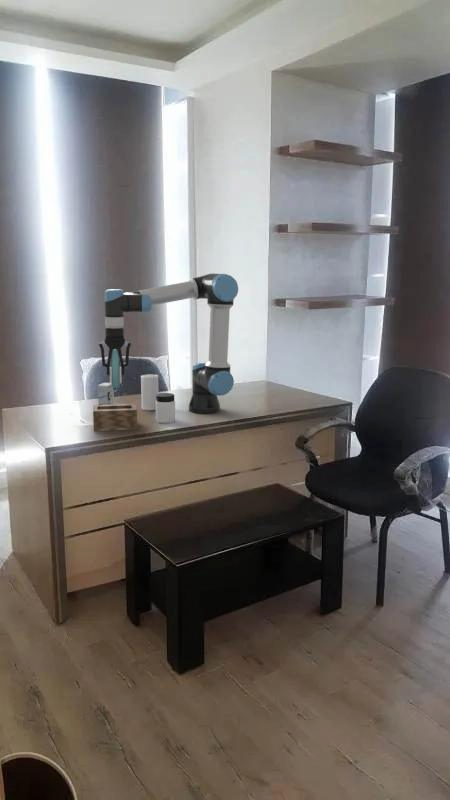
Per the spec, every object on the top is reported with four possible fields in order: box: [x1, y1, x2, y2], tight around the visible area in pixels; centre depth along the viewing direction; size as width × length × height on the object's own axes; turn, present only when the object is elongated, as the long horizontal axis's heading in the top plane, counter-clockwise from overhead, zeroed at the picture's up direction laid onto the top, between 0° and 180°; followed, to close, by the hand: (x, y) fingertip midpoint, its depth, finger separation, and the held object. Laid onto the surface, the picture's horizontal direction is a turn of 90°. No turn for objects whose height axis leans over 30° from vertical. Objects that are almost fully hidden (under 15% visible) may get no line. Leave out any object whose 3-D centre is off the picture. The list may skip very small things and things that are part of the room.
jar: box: [155, 392, 176, 424], centre depth 273 cm, size 9×8×12 cm
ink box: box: [97, 382, 115, 405], centre depth 297 cm, size 9×5×12 cm, turn 168°
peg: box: [110, 349, 121, 389], centre depth 259 cm, size 3×3×16 cm
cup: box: [140, 373, 159, 411], centre depth 297 cm, size 8×8×16 cm
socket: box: [92, 403, 138, 432], centre depth 263 cm, size 18×12×8 cm, turn 102°
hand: (115, 382), depth 260 cm, fingers closed on peg, 3 cm apart
